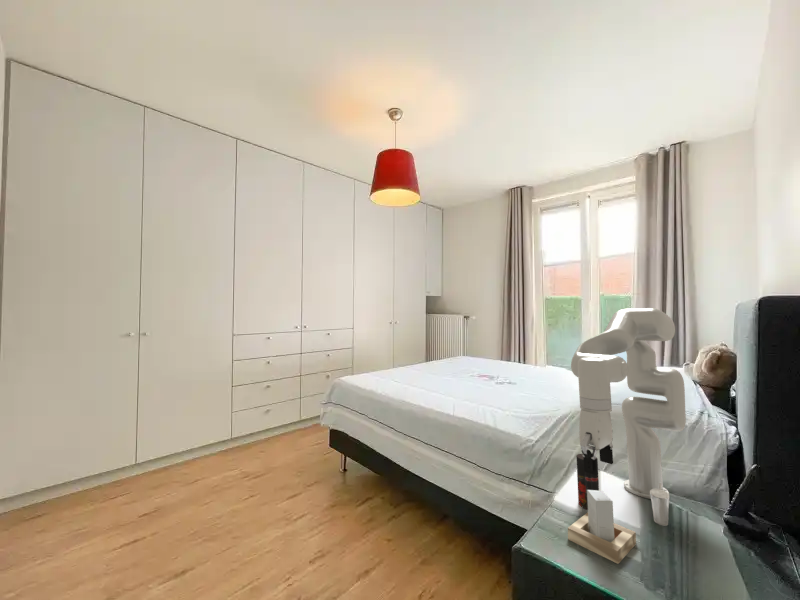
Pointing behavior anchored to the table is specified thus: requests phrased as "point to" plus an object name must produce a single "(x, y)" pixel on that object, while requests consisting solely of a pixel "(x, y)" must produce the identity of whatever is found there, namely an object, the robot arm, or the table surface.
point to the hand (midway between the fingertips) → (599, 467)
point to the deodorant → (585, 482)
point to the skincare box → (600, 515)
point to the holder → (609, 550)
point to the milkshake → (660, 505)
